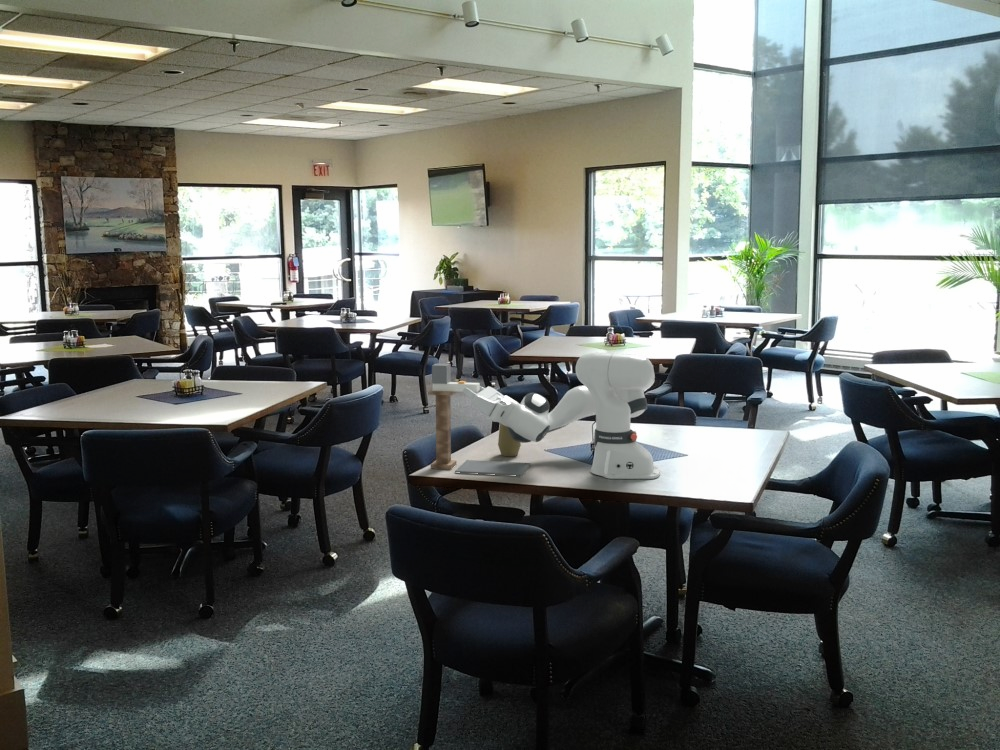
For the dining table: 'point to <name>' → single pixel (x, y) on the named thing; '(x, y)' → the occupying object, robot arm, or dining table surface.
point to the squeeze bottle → (507, 442)
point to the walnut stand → (443, 430)
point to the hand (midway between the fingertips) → (467, 386)
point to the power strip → (456, 387)
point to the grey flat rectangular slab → (493, 467)
